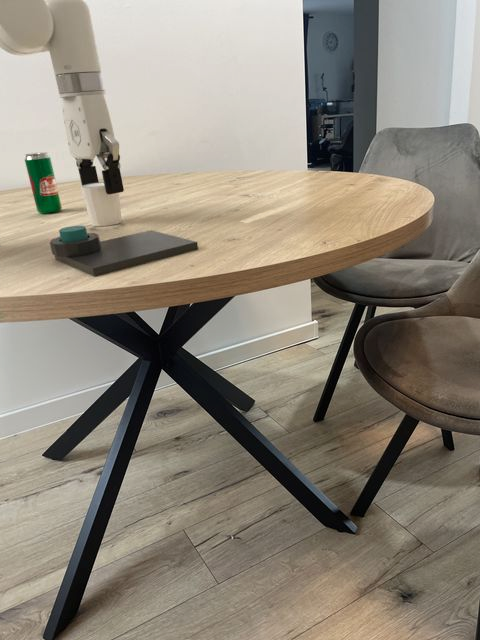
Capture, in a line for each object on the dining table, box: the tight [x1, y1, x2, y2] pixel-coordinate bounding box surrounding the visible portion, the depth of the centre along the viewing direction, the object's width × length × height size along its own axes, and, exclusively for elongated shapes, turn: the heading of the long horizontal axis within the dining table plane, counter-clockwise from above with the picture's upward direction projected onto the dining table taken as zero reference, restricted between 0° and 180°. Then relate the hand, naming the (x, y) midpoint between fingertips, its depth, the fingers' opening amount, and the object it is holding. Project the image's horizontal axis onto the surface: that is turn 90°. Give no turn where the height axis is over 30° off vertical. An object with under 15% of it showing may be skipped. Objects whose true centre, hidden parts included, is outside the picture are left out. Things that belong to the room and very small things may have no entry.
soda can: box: [24, 151, 63, 215], centre depth 108 cm, size 5×5×12 cm
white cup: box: [79, 181, 123, 227], centre depth 95 cm, size 7×7×7 cm
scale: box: [49, 229, 199, 278], centre depth 73 cm, size 17×14×3 cm
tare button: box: [58, 225, 88, 242], centre depth 72 cm, size 4×4×2 cm
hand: (103, 191), depth 94 cm, fingers open, 9 cm apart
